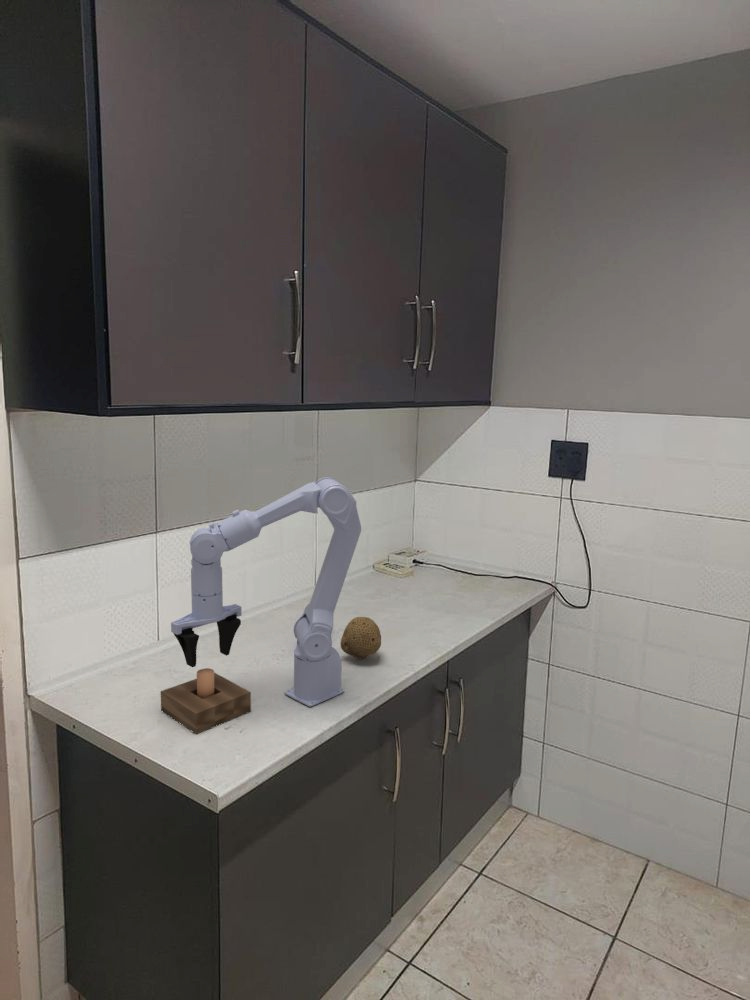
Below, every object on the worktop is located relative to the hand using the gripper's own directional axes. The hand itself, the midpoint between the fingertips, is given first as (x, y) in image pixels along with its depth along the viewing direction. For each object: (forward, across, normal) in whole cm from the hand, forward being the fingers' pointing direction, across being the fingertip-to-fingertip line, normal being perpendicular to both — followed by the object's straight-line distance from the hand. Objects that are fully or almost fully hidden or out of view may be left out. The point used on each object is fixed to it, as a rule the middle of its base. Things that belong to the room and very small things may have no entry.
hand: (208, 659), depth 132 cm
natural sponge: (+10, -37, +6) cm, 39 cm away
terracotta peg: (+8, +2, +2) cm, 9 cm away
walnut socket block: (+9, +2, +2) cm, 10 cm away
